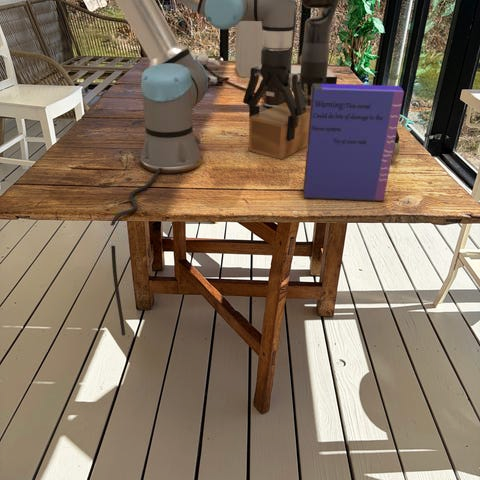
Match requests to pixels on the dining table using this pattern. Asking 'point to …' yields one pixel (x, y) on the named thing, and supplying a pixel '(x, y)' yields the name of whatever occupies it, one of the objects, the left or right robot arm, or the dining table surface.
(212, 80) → the figurine
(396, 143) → the figurine character
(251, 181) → the dining table surface
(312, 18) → the right robot arm
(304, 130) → the brown rectangular block
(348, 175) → the purple hardcover book
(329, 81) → the disc drive
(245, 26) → the tall white box
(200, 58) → the toy
